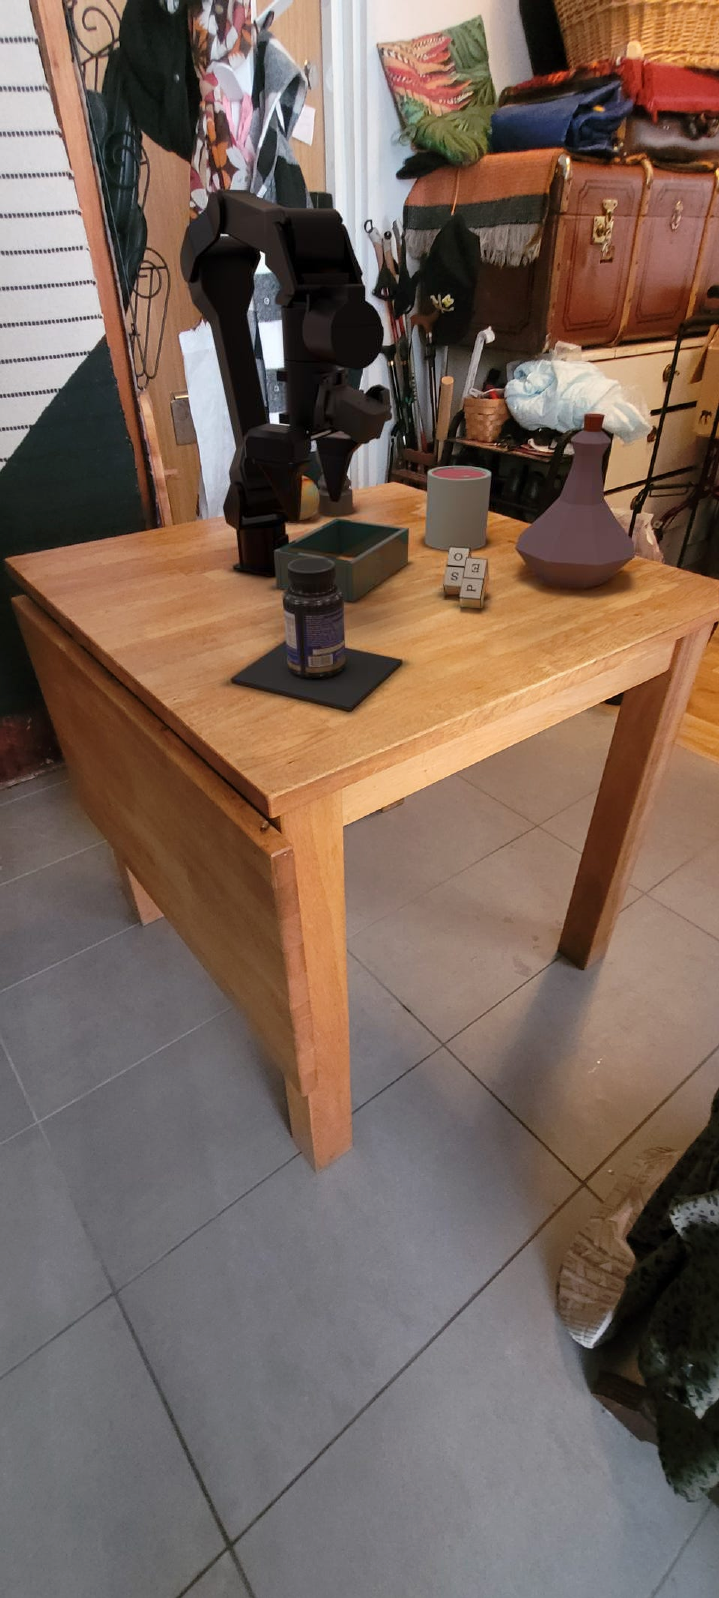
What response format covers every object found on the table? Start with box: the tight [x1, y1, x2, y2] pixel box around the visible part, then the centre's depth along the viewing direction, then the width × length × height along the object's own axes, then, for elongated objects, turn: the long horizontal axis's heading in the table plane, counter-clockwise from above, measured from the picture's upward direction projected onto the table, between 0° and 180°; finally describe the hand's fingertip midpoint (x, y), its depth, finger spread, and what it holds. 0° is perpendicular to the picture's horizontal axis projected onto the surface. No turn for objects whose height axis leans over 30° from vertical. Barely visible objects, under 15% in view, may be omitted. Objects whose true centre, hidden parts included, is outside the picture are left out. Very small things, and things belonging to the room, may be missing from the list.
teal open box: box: [274, 518, 410, 603], centre depth 104 cm, size 12×17×5 cm
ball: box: [299, 475, 320, 521], centre depth 127 cm, size 7×7×7 cm
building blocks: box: [442, 546, 490, 609], centre depth 97 cm, size 5×5×8 cm
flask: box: [514, 412, 636, 590], centre depth 99 cm, size 16×16×20 cm
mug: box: [424, 465, 492, 552], centre depth 117 cm, size 14×9×10 cm
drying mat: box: [230, 640, 403, 712], centre depth 81 cm, size 14×12×1 cm
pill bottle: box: [282, 557, 346, 679], centre depth 78 cm, size 6×6×11 cm
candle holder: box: [315, 366, 354, 517], centre depth 125 cm, size 6×6×25 cm
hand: (315, 511), depth 90 cm, fingers open, 9 cm apart
